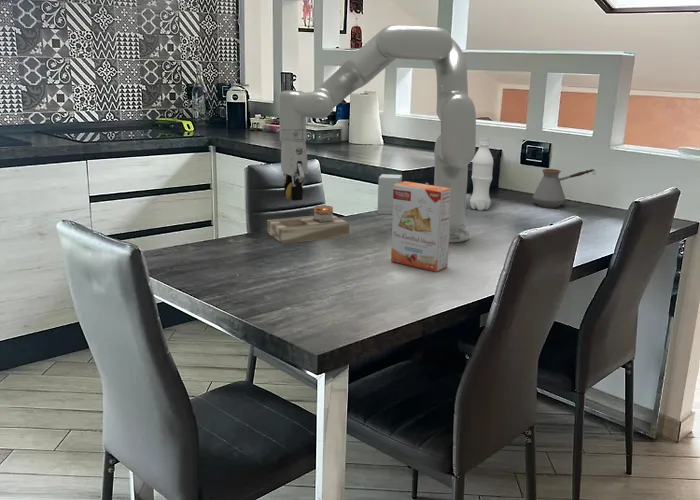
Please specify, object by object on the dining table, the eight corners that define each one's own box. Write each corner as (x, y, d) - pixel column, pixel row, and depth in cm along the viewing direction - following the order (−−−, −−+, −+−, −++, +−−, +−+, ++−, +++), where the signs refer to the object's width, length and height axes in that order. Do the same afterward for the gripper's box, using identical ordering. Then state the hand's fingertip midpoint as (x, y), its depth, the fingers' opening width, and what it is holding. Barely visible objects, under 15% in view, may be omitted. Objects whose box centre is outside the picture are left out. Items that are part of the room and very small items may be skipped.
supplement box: (398, 215, 229) (399, 178, 226) (376, 213, 231) (377, 177, 227) (401, 210, 236) (402, 174, 233) (380, 209, 238) (381, 173, 234)
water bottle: (489, 207, 243) (494, 136, 236) (491, 211, 236) (496, 139, 229) (468, 206, 244) (473, 136, 237) (470, 210, 237) (474, 138, 230)
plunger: (335, 223, 203) (335, 208, 202) (318, 225, 201) (318, 210, 200) (328, 219, 208) (328, 204, 207) (311, 220, 206) (311, 206, 205)
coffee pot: (526, 205, 247) (530, 164, 242) (539, 200, 255) (543, 160, 251) (584, 214, 234) (589, 171, 229) (596, 209, 242) (601, 167, 238)
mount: (349, 236, 202) (349, 223, 201) (282, 243, 193) (282, 230, 192) (331, 226, 213) (331, 213, 212) (267, 233, 205) (267, 220, 204)
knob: (286, 201, 195) (286, 184, 194) (284, 197, 200) (284, 180, 199) (303, 200, 196) (303, 183, 195) (300, 197, 201) (300, 180, 200)
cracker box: (389, 262, 178) (392, 183, 172) (402, 257, 182) (405, 180, 177) (436, 273, 170) (440, 190, 164) (448, 267, 174) (452, 187, 168)
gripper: (316, 138, 187) (316, 202, 193) (294, 131, 202) (294, 191, 207) (291, 139, 184) (291, 205, 189) (270, 132, 199) (271, 193, 204)
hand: (293, 197), depth 198 cm, fingers closed on knob, 5 cm apart
